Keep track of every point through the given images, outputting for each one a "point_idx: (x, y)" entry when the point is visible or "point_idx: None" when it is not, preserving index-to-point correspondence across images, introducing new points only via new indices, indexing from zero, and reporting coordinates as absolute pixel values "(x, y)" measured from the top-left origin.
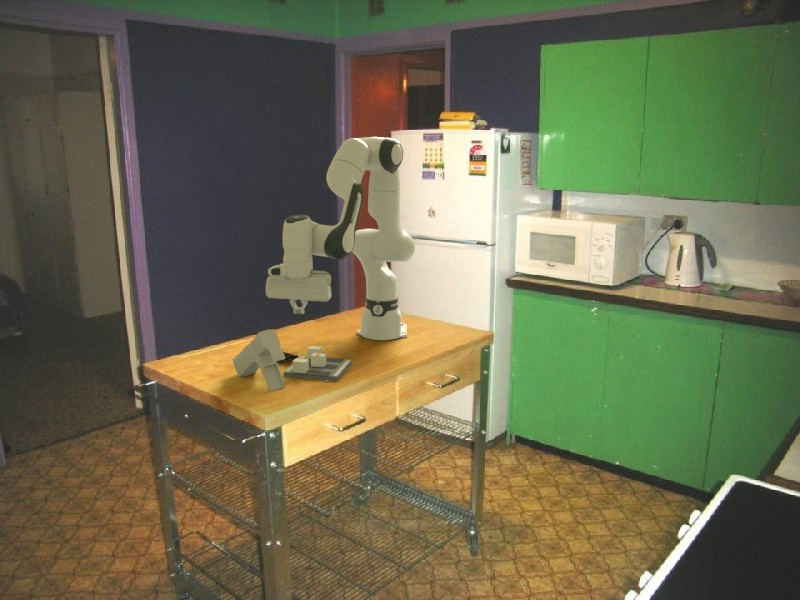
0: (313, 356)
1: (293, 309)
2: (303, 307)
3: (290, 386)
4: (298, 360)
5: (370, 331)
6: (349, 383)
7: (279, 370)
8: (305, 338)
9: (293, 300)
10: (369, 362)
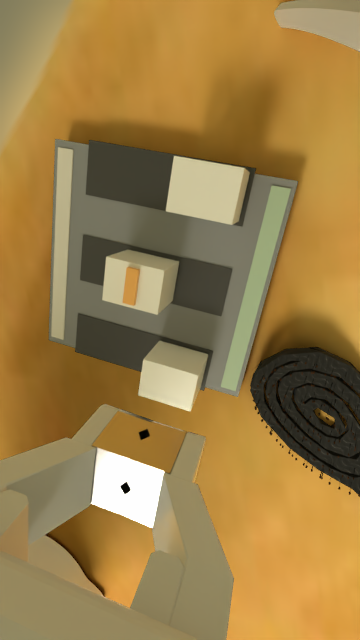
0: (152, 267)
1: (195, 468)
2: (45, 447)
3: (249, 46)
4: (214, 187)
5: (42, 568)
6: (22, 126)
7: (309, 2)
8: (255, 597)
9: (145, 599)
10: (13, 351)
